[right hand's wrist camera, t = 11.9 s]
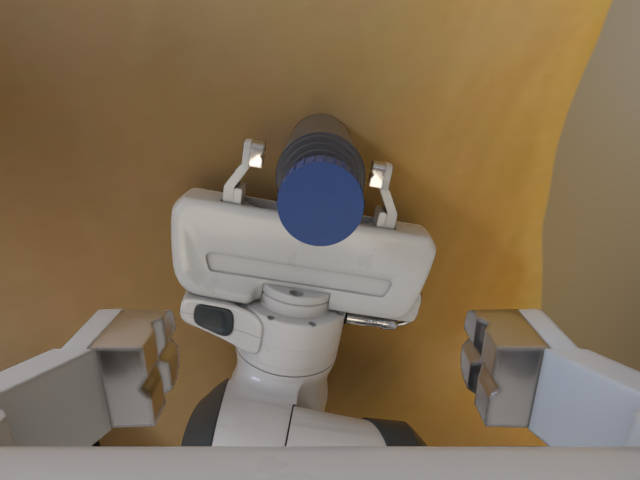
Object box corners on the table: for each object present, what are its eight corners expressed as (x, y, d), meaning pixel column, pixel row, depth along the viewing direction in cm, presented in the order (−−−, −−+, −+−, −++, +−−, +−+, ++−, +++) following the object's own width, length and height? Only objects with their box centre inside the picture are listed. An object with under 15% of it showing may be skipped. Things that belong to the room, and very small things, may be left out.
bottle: (305, 102, 37) (292, 126, 19) (361, 131, 37) (397, 177, 20) (280, 159, 38) (246, 228, 21) (334, 185, 39) (345, 272, 22)
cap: (300, 139, 21) (298, 145, 19) (376, 177, 21) (381, 185, 20) (265, 214, 22) (261, 225, 20) (339, 247, 23) (340, 261, 21)
